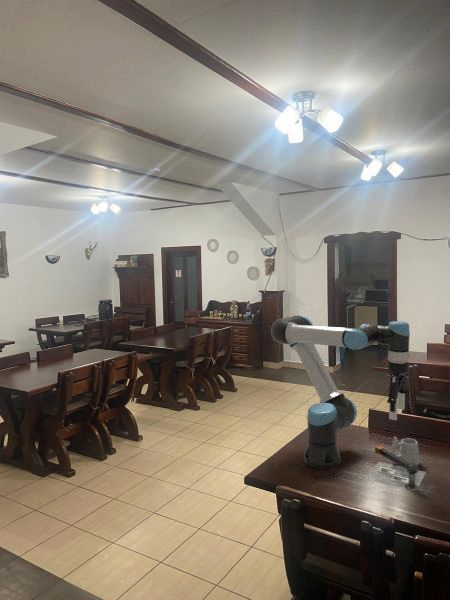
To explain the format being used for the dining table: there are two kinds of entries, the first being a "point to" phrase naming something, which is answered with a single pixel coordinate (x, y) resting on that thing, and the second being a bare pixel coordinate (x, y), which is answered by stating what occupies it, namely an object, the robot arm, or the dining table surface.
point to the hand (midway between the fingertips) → (397, 414)
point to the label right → (400, 479)
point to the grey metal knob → (412, 483)
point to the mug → (407, 450)
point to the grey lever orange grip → (396, 459)
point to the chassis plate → (399, 472)
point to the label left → (386, 471)
